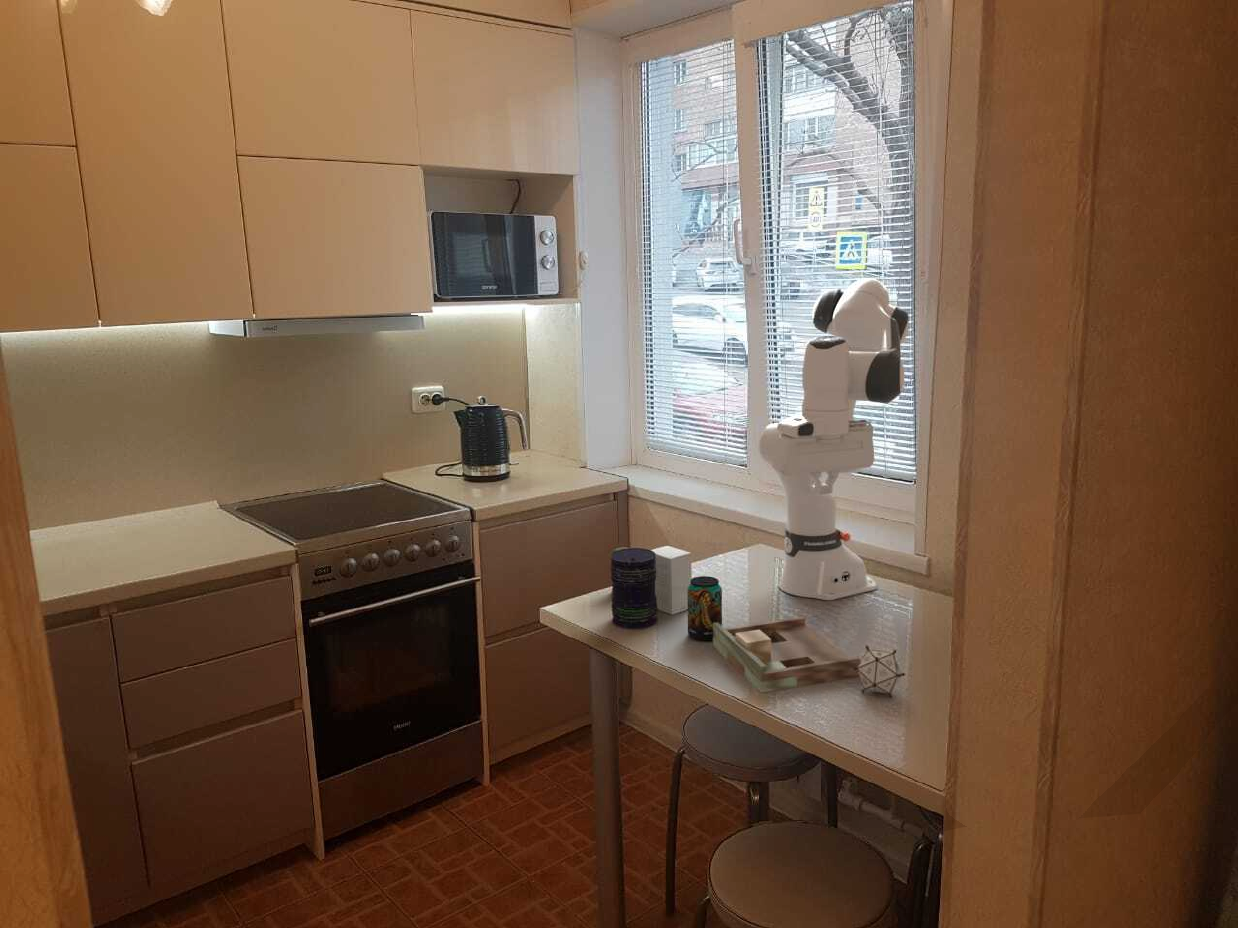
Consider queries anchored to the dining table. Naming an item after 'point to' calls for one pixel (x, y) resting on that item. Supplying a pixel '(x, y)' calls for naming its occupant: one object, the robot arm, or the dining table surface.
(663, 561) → the small box
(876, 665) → the game die
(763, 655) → the beech block
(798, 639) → the box
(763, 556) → the dining table surface
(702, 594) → the beverage can
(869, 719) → the dining table surface
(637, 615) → the storage jar
